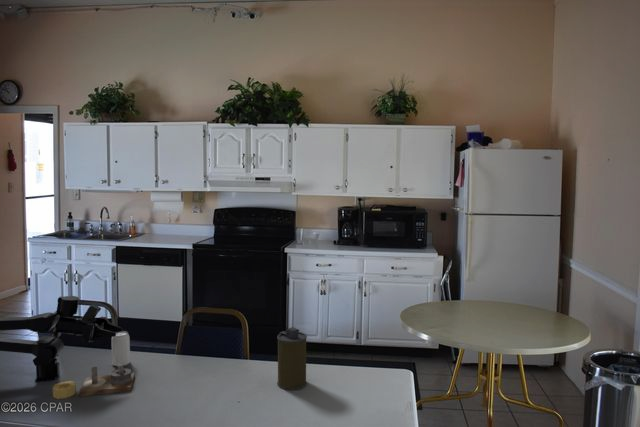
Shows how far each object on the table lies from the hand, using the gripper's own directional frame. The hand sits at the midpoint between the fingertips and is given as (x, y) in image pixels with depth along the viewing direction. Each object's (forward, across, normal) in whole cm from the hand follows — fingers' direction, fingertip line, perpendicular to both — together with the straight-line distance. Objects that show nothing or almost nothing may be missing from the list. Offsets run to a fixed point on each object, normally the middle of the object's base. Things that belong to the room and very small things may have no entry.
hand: (119, 332), depth 173 cm
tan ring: (-11, -12, +20) cm, 26 cm away
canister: (+64, -16, +7) cm, 67 cm away
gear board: (+2, -8, +17) cm, 19 cm away
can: (+1, +12, +15) cm, 19 cm away
